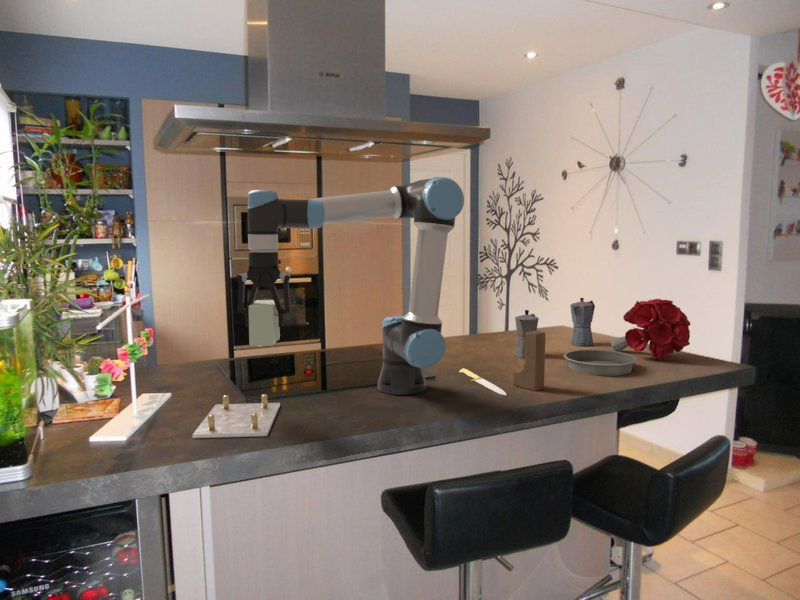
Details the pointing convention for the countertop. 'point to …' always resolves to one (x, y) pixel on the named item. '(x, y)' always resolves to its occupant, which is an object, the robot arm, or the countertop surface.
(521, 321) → the coffeepot
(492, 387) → the knife
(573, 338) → the moka pot
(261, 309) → the pale green rectangular block
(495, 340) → the countertop surface
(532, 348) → the wooden block
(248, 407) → the chassis plate
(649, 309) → the bouquet
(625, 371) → the cake pan
